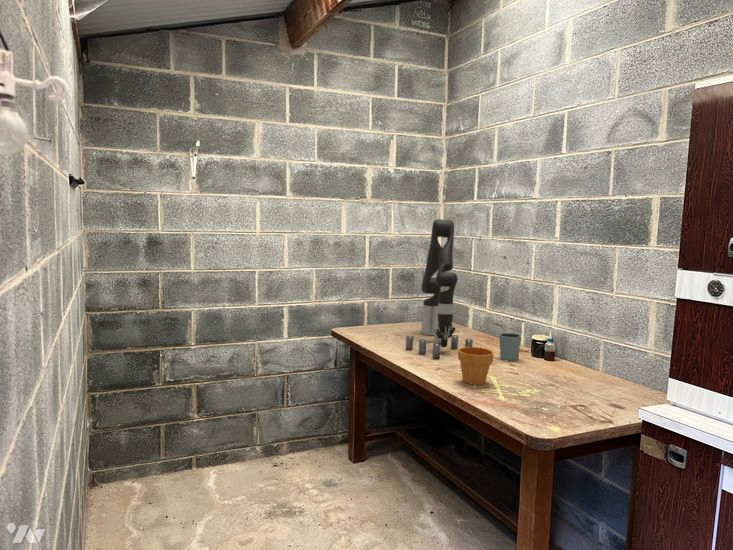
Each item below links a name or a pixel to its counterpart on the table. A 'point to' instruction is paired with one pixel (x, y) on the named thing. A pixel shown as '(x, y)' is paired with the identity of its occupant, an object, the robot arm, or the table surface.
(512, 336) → the grey-blue tapered bin
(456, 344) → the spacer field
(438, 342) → the pipe connector
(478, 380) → the flower pot
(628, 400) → the table surface
